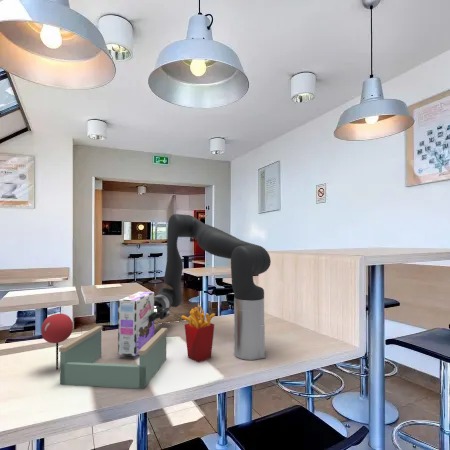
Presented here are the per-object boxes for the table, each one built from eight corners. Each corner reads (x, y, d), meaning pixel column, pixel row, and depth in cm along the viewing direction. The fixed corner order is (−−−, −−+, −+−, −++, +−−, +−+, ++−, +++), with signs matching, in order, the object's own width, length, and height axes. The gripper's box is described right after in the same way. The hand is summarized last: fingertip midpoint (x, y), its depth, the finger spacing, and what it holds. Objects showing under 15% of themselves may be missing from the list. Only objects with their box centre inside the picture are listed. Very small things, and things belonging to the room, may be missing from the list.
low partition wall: (167, 358, 93) (167, 328, 93) (144, 389, 74) (144, 350, 75) (97, 355, 95) (97, 325, 95) (58, 384, 77) (59, 347, 77)
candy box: (135, 356, 92) (135, 300, 92) (117, 355, 93) (117, 299, 93) (155, 340, 105) (155, 291, 105) (138, 339, 106) (138, 290, 107)
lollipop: (42, 366, 88) (43, 312, 88) (72, 361, 91) (73, 309, 91) (38, 377, 81) (39, 318, 81) (71, 372, 84) (72, 315, 84)
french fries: (215, 357, 93) (215, 307, 94) (193, 365, 88) (193, 311, 88) (196, 350, 100) (196, 302, 100) (175, 357, 94) (175, 306, 94)
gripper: (138, 296, 118) (118, 306, 101) (175, 296, 117) (161, 307, 100) (138, 316, 118) (118, 330, 101) (175, 317, 116) (161, 331, 100)
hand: (140, 318), depth 101 cm, fingers closed on candy box, 6 cm apart
